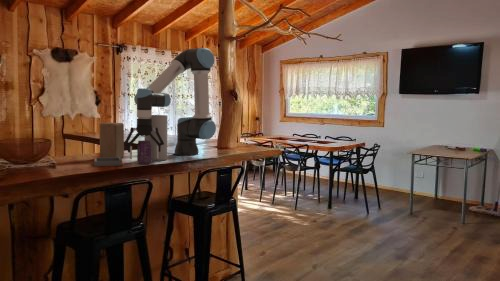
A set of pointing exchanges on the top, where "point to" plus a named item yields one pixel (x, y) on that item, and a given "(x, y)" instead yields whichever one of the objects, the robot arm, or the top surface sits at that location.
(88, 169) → the top surface
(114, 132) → the wooden block
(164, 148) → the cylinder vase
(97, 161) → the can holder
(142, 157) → the beverage can
